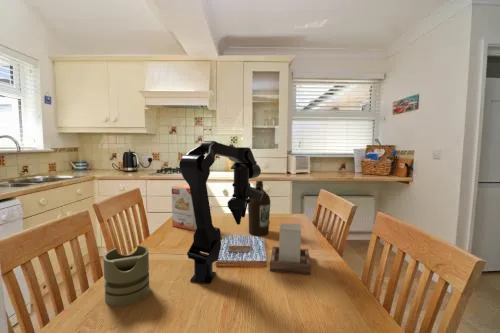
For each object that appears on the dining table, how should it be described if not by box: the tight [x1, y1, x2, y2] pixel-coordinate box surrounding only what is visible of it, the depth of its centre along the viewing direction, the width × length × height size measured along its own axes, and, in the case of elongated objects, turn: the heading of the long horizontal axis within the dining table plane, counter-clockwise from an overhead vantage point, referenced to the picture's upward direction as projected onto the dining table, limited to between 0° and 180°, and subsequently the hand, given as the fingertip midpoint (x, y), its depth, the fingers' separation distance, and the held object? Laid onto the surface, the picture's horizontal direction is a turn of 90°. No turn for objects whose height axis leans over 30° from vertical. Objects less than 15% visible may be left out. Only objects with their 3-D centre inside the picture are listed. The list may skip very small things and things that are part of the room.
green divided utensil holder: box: [102, 244, 150, 308], centre depth 72 cm, size 11×12×11 cm
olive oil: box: [247, 180, 271, 237], centre depth 122 cm, size 11×11×25 cm
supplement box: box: [278, 222, 302, 263], centre depth 91 cm, size 7×7×13 cm
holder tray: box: [269, 246, 312, 275], centre depth 92 cm, size 13×13×3 cm
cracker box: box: [171, 184, 197, 232], centre depth 129 cm, size 14×6×21 cm, turn 62°
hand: (240, 220), depth 99 cm, fingers open, 9 cm apart
